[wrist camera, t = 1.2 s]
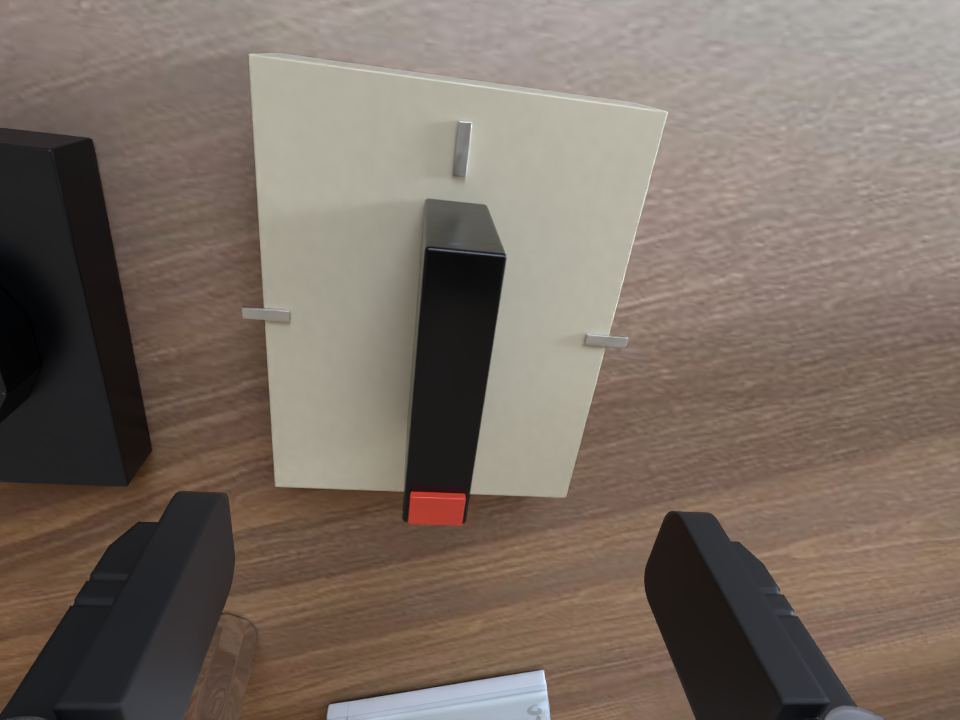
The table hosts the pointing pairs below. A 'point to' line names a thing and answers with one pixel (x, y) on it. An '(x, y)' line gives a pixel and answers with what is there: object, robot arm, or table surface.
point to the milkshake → (224, 672)
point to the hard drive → (457, 702)
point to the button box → (62, 322)
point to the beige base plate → (396, 259)
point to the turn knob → (450, 358)
